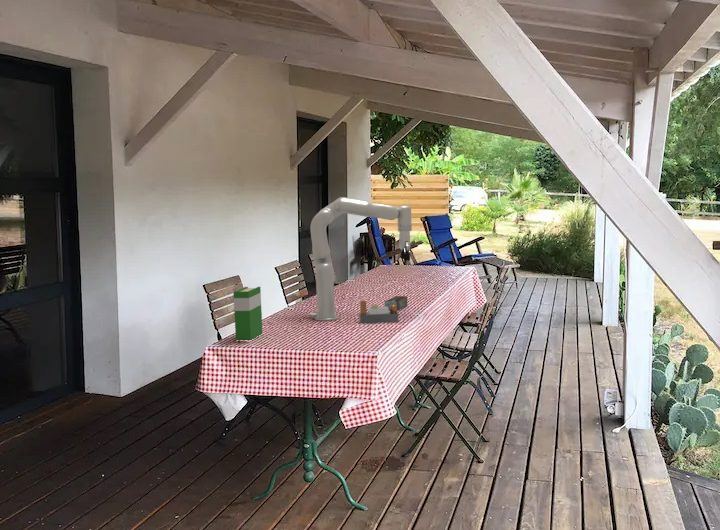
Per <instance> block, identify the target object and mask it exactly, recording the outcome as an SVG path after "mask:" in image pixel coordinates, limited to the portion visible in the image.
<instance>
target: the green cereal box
mask: <svg viewBox="0 0 720 530" xmlns="http://www.w3.org/2000/svg"><path fill="white" fill-rule="evenodd" d="M261 295H262V293H261V286H257V287H250V288H249V286H244V287H242V288H240V289H237V290H235V291H233V306H234V307H233V309H234V312H233V313H234V330H235V341H236V340H252V339H254V338H256V337H257V336H259V335H261V334H262V333H263V317H262V315H263V314H262V296H261ZM263 334H264V333H263Z"/></svg>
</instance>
